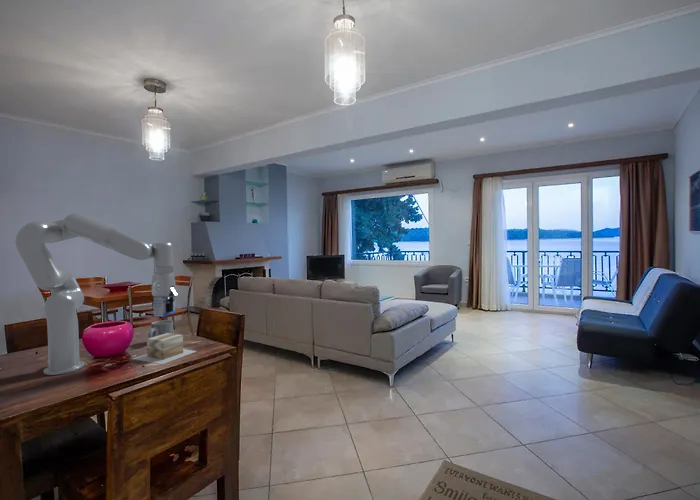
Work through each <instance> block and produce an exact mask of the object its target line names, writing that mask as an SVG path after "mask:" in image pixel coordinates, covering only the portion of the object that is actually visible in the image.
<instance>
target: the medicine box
mask: <svg viewBox="0 0 700 500" xmlns="http://www.w3.org/2000/svg"><path fill="white" fill-rule="evenodd" d="M168 296H170V295H168ZM169 299H170V297H169ZM166 303H167V301H166V297H162V296H157V297H153V316H154V317H157V318H158V317H160V318H163V317H167V316H170V315H174V314H175V313H176V299H175V300H174V302H173V311H172V312H168V313H167V312H166Z"/></svg>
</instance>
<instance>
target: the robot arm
mask: <svg viewBox="0 0 700 500" xmlns="http://www.w3.org/2000/svg"><path fill="white" fill-rule="evenodd" d="M78 237H79V238H82V239H84V240H87V241H90V242H93V243H94V244H97V245H100V246H102V247H104V248H106V249H109V250H111V251H113V252H116V253H118V254H121V255H122V256H123V255H124V256H126V257H129V258H130V259H131V258H132V259H134V260H137V261H143V260H144V261H145V260H150V259H153V275H152V278H151V296H152V297H153V298H154V297H157V296H162V297H166V301H167V303H166V312H167V313H168V312H172V311H173V302H174V300H175V301H176V298H177V297H178V293H177V292H176V291H177V290H176V289H177V287H176V278H175V273H174V248H173V246H174V245H173V244H172V243H171V242H155V243H154V242H146V241H145V242H144V241H140V240H138V239H136V238H133V237H132V236H129V235H127V234H124V233H122V232H120V231H119V230H118V229H116V228H115V227H113V226H111V225H107V224H105V223H103V222H100V221H98V220H95V219H93V218H91V217H90V216H88V215H85V214H83V213H75V212H74V213H71V214H68V215H66V216H65V217H64V218H63V219H59V220H55V221H43V220H34V221H31V222H28V223H26V224H25V225H23V226H22V227H21V228H20V229H19V231H17V234H16V236H15V241H14V242H15V247H16V250H17V252H18V254H19V256H20V257H21V258H22V261H23V263H24V264H25V266H26V268H27V270H28V273H29V274H30V276H31V278H32V280H33V281H34V284H35V286H36V287H38V289H41V290H43V291H50V292H51V295H50V296H48V297H47V299H46V300H45V303H44V313H45V314H44V315H45V319H46V326H47V327H46V329H47V350H48V351H47V352H48V355H47V357H48V359H47V360H46V362H47V363H48V366H47V367H46V368H44V369H43V375H47V376H55V375H56V376H58V375H63V374H64V375H65V374H68V373H72V372H76V371H78V370H81V369H82V368H83V367H84V366H85V362H84V361H81V360H80V341H79V340H80V337H79V319H78V313H77V310H78V309H79V308H80V307H82V305H83V304H84V302H85V295H84V292H83V290H82V288H81V287H80V285H79V283H78V281H77V280H76V277H75V276H74V274H73V273H72V271H71V270H70V269H69V268H67V267H66V266H64V265H58V264H57V262H56V260H55V259H54V257H53V255H52V253H51V251H50V250H49V249H48V248H47V245H46V244H53V243H58V242H59V243H60V242H62V241H66V240H71V239H74V238H78ZM168 295H170V296H168ZM169 297H170V299H169Z"/></svg>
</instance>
